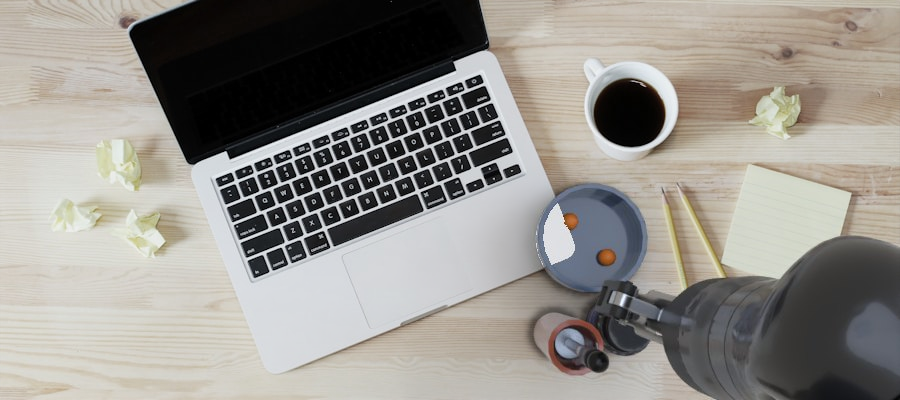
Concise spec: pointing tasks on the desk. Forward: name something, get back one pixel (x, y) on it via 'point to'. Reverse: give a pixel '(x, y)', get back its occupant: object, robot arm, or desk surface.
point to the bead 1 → (570, 221)
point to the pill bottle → (617, 334)
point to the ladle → (580, 350)
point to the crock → (548, 331)
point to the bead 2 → (607, 257)
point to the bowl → (597, 237)
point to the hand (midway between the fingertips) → (674, 328)
